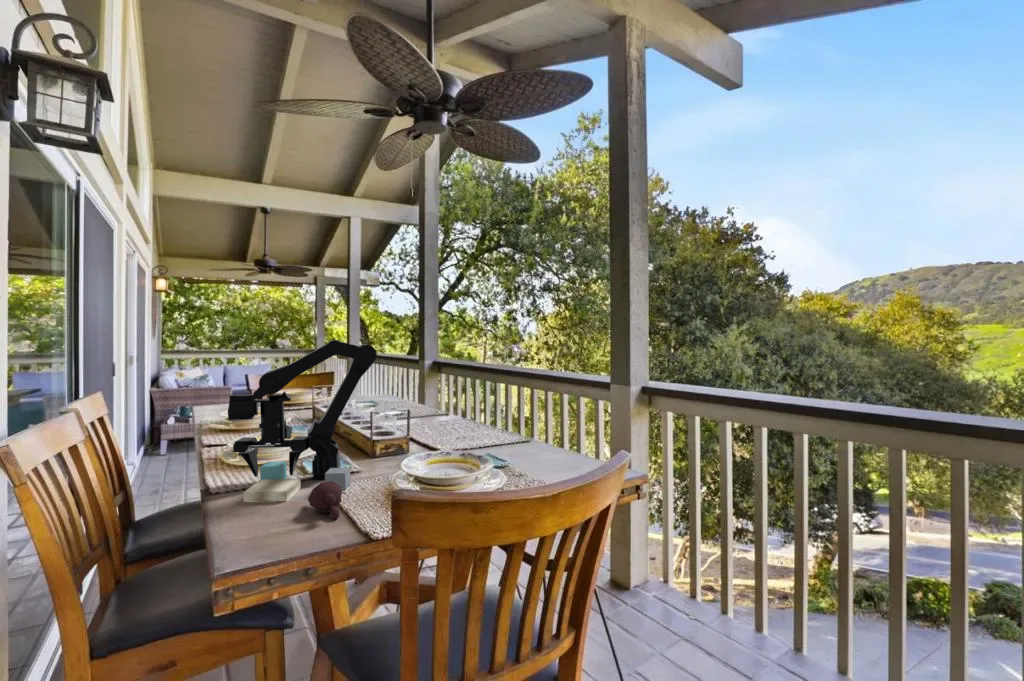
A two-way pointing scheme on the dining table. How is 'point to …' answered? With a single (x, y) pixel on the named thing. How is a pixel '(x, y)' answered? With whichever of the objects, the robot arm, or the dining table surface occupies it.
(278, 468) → the teal cube
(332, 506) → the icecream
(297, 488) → the birch block
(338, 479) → the light grey cube
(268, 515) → the dining table surface
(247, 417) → the robot arm
